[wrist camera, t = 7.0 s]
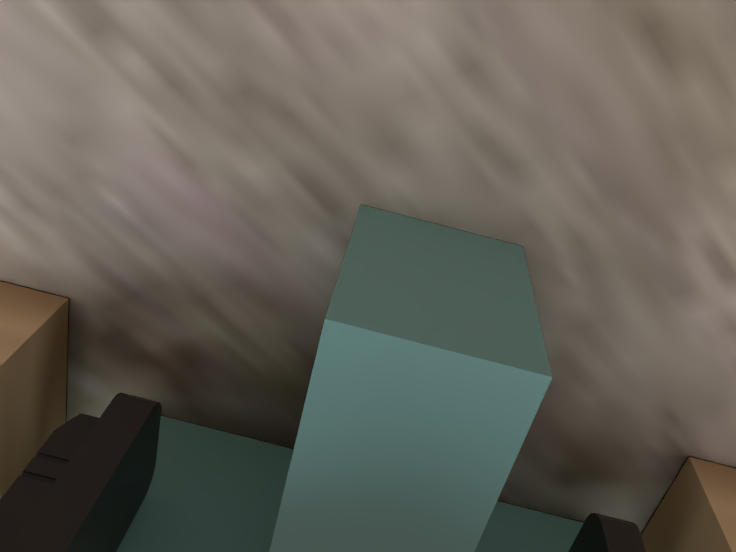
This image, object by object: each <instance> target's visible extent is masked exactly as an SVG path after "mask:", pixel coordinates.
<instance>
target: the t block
mask: <svg viewBox="0 0 736 552" xmlns="http://www.w3.org/2000/svg"><path fill="white" fill-rule="evenodd" d="M552 378H553V376H552V372H551V368H550V363H549V359H548V355H547V350H546V346H545V342H544V337H543V333H542V328H541V324H540V320H539V315H538V311H537V307H536V302H535V298H534V293H533V289H532V285H531V280H530V276H529V272H528V267H527V263H526V259H525V254H524V250H523V246H519V245H515V244H511V243H507V242H504V241H500V240H496V239H492V238H488V237H484V236H480V235H477V234H473V233H469V232H465V231H461V230H457V229H453V228H450V227H446V226H442V225H438V224H434V223H430V222H426V221H422V220H419V219H415V218H411V217H407V216H403V215H399V214H395V213H392V212H388V211H384V210H380V209H376V208H372V207H368V206H365V205H361V206H360V209H359V212H358V215H357V218H356V221H355V225H354V228H353V231H352V234H351V237H350V240H349V244H348V247H347V250H346V253H345V256H344V259H343V263H342V266H341V269H340V272H339V275H338V279H337V282H336V285H335V288H334V291H333V294H332V298H331V301H330V304H329V307H328V310H327V313H326V317H325V320H324V324H323V328H322V333H321V337H320V341H319V345H318V349H317V354H316V358H315V362H314V366H313V370H312V375H311V379H310V383H309V387H308V391H307V396H306V400H305V404H304V408H303V412H302V416H301V421H300V425H299V429H298V433H297V437H296V442H295V446H294V449H290V448H286V447H282V446H279V445H275V444H271V443H267V442H263V441H259V440H255V439H251V438H247V437H243V436H239V435H235V434H231V433H227V432H223V431H219V430H215V429H211V428H208V427H204V426H200V425H196V424H192V423H188V422H184V421H180V420H176V419H172V418H168V417H164V416H161V419H160V428H159V438H158V447H157V457H156V465H155V470H154V474H153V477H152V481H151V484H150V486H149V489H148V492H147V494H146V496H145V498H144V500H143V502H142V504H141V506H140V508H139V510H138V511H137V513H136V515H135V517H134V519H133V521H132V523H131V525H130V527H129V528H128V530H127V532H126V534H125V536H124V538H123V540H122V542H121V544H120V545H119V547H118V549H117V551H116V552H568V551H569V549H570V548H571V546H572V544H573V542H574V540H575V538H576V537H577V535H578V533H579V531H580V529H581V527H582V525H583V524H584V523H582V522H578V521H574V520H570V519H566V518H563V517H559V516H555V515H551V514H547V513H543V512H539V511H535V510H531V509H527V508H523V507H519V506H515V505H511V504H507V503H503V502H499V501H497V500H498V498H499V496H500V493H501V491H502V489H503V487H504V484H505V482H506V480H507V478H508V476H509V473H510V471H511V469H512V467H513V464H514V462H515V460H516V458H517V455H518V453H519V451H520V449H521V447H522V444H523V442H524V440H525V438H526V435H527V433H528V431H529V429H530V427H531V424H532V422H533V420H534V418H535V415H536V413H537V411H538V409H539V407H540V404H541V402H542V400H543V398H544V395H545V393H546V391H547V389H548V386H549V384H550V382H551V380H552Z"/></svg>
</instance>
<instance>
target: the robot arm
mask: <svg viewBox="0 0 736 552" xmlns="http://www.w3.org/2000/svg"><path fill="white" fill-rule="evenodd" d="M160 419H161V403H160V402H156V401H152V400H148V399H144V398H140V397H136V396H132V395H128V394H124V393H119V394H117V395H116V396H115V397H114V399H113V400H112V401H111V403H110V404H109V406H108V407H107V409H106V410H105V411H104V413H103V414H102V416H101V417H100V418H97V417H93V416H89V415H85V414H79V415H78V416H76V417H74V418H73V419H71V420H70V421H68V422H66V423H65V424H63V425H62V426H60V427H58V428H57V429H55V430H54V431H53V433H52V434H51V435H50V436H49V438H48V439H47V440H46V442H45V443H44V444H43V445H42V447H41V448H40V449H39V450H38V452H37V455H36V457H33V458H32V459H31V461H30V462H29V463H28V465H27V466H26V467H25V468H24V470H23V473H22V475H21V476H20V475H19V476H18V477H17V479H16V480H15V481H14V483H13V484H12V485H11V486H10V488H9V489H8V490H7V492H6V493H5V494H4V495H3V497H2V498H1V499H0V552H116V551H117V549H118V547H119V545H120V544H121V542H122V540H123V538H124V536H125V534H126V532H127V530H128V528H129V527H130V525H131V523H132V521H133V519H134V517H135V515H136V513H137V511H138V510H139V508H140V506H141V504H142V502H143V500H144V498H145V496H146V494H147V492H148V489H149V486H150V484H151V481H152V477H153V474H154V470H155V465H156V457H157V447H158V438H159V428H160ZM568 552H646V550H645V547H644V543H643V540H642V537H641V534H640V531H639V529H638V527H637V525H636V524H635V523H633V522H629V521H625V520H621V519H617V518H613V517H609V516H605V515H601V514H597V513H591V514H590V515H589V516H588V517H587V518H586V520H585V522H584V524H583V525H582V527H581V529H580V531H579V533H578V535H577V537H576V538H575V540H574V542H573V544H572V546H571V548H570V549H569V551H568Z"/></svg>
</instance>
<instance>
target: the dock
mask: <svg viewBox="0 0 736 552" xmlns="http://www.w3.org/2000/svg"><path fill="white" fill-rule="evenodd" d="M68 300H69V299H68V298H64V297H60V296H56V295H52V294H48V293H44V292H40V291H37V290H33V289H29V288H25V287H21V286H17V285H13V284H9V283H5V282H1V281H0V499H1V498H2V497H3V495H4V494H5V493H6V492H7V490H8V489H9V488H10V486H11V485H12V484H13V483H14V481H15V480H16V479H17V477H18V476H19V475H20V476H21V475H22V473H23V470H24V468H25V467H26V466H27V465H28V463H29V462H30V461H31V459H32V458H33V457H36V455H37V452H38V450H39V449H40V448H41V447H42V445H43V444H44V443H45V442H46V440H47V439H48V438H49V436H50V435H51V434H52V433H53V431H54V430H55V429H57V428H58V427H60V426H62V425H63V424H65V419H66V380H67V340H68ZM641 537H642V540H643V543H644V547H645V550H646V552H736V468H732V467H728V466H724V465H720V464H716V463H712V462H708V461H704V460H700V459H696V458H692V457H689V458H688V459H687V461H686V463H685V464H684V466H683V467H682V469H681V471H680V472H679V474H678V476H677V477H676V479H675V481H674V482H673V484H672V485H671V487H670V489H669V490H668V492H667V494H666V495H665V497H664V499H663V500H662V502H661V503H660V505H659V507H658V508H657V510H656V512H655V513H654V515H653V517H652V518H651V520H650V521H649V523H648V525H647V526H646V528H645V530H644V531H643V533H642V535H641Z"/></svg>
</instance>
